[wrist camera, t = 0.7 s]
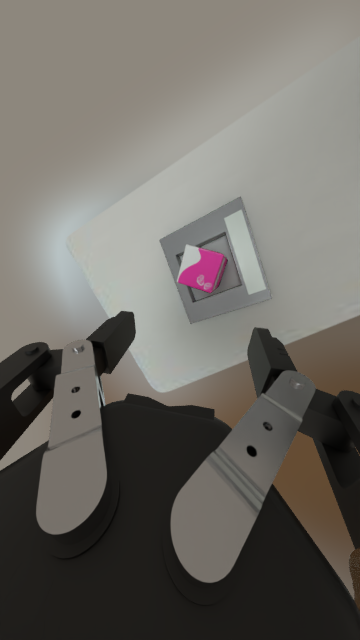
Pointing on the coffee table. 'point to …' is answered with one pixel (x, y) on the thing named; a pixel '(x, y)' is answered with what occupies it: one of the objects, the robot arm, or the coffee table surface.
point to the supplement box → (201, 268)
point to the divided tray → (244, 252)
